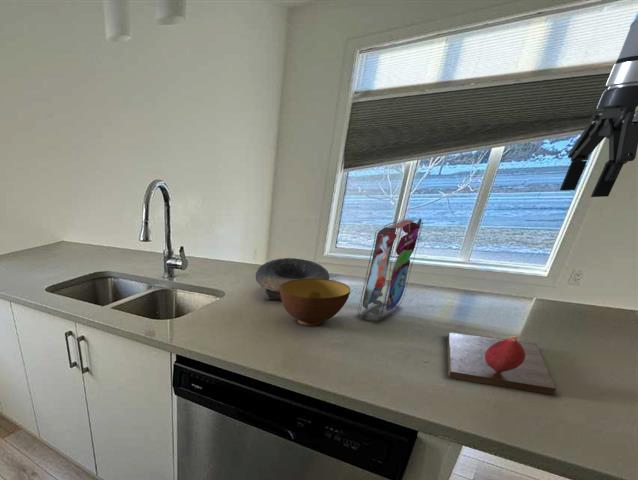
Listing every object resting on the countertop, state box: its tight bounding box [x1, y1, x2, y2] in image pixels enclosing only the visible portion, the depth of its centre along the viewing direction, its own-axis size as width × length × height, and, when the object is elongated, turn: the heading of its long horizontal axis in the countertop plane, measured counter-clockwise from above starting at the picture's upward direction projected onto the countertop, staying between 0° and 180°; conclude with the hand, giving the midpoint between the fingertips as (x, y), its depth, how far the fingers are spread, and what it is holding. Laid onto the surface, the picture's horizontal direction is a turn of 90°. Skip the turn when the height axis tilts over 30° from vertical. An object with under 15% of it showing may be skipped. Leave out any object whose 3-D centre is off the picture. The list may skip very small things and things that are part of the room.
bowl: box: [280, 279, 351, 327], centre depth 113 cm, size 18×18×10 cm
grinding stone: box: [255, 257, 330, 301], centre depth 135 cm, size 23×25×10 cm
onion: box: [485, 335, 525, 373], centre depth 80 cm, size 6×6×8 cm
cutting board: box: [446, 332, 557, 396], centre depth 88 cm, size 22×16×2 cm
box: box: [357, 218, 424, 323], centre depth 113 cm, size 25×6×24 cm, turn 131°
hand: (582, 193), depth 98 cm, fingers open, 13 cm apart
